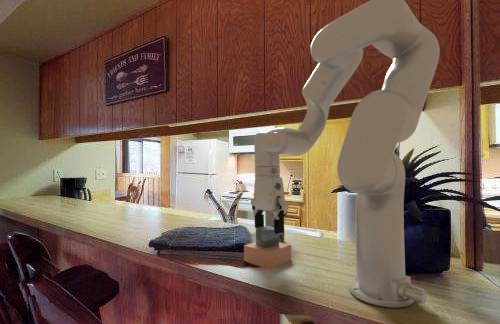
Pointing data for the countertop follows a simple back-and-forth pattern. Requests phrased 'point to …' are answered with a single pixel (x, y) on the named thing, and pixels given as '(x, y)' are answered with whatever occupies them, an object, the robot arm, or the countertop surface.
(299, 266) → the countertop surface
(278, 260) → the terracotta block
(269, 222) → the coffee box
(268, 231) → the slate cube
